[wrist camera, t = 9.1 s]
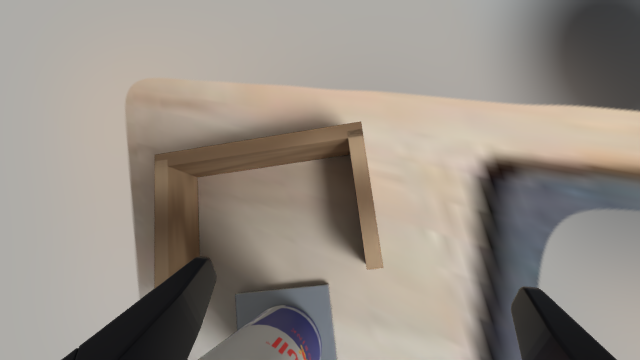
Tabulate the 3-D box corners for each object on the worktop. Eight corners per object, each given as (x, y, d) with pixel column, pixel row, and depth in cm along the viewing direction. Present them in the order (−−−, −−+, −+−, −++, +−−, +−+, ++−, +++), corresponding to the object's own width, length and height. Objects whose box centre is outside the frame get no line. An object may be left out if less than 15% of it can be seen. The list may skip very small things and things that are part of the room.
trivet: (340, 389, 21) (340, 393, 20) (244, 395, 22) (240, 399, 21) (328, 283, 22) (327, 285, 22) (238, 293, 23) (235, 294, 22)
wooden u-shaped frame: (379, 262, 22) (383, 268, 18) (188, 283, 24) (154, 292, 20) (361, 140, 24) (361, 121, 20) (186, 167, 26) (154, 154, 22)
